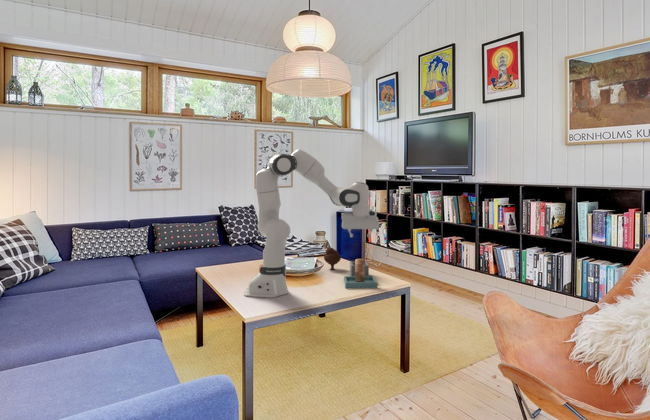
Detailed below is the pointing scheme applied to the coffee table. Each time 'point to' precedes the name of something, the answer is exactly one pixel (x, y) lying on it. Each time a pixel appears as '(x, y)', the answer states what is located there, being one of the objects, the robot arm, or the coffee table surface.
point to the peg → (359, 270)
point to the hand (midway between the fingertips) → (360, 237)
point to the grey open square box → (352, 269)
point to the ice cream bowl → (332, 257)
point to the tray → (368, 282)
